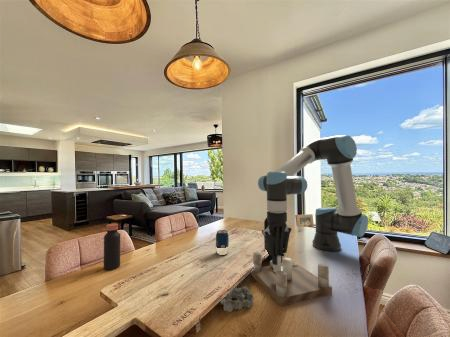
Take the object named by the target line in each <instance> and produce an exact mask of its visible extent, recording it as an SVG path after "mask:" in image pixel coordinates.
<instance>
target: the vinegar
mask: <svg viewBox="0 0 450 337" xmlns="http://www.w3.org/2000/svg"><path fill="white" fill-rule="evenodd" d="M105 226H106V227H105V228H106V229H105V230H106V234H104V235H103V236H104V237H103V270H104V269H105V271H114V270H117V269H118V268H120V266H121V233H120V232H119V223H117V222H115V223H114V222H113V223H108V224H106V225H105ZM116 268H117V269H116ZM113 269H114V270H113Z"/></svg>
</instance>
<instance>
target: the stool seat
mask: <svg viewBox="0 0 450 337" xmlns="http://www.w3.org/2000/svg"><path fill="white" fill-rule="evenodd" d="M262 254H263V253H262V252H259V251H255V252H253V253H252V265H253V264H254V265H255V269H254V270H253V272H252V273H251V272H250V275H251V277H253V278H254V280H255V281H256V282H257V283H259V285H260V286H261V287H262V288H263V290H265V291H266V293H267V294H268V295H269V296H270V297H271V298H272V300H274V301H275V303H276V304H277V305H278V306H279V307H283V306H286V305H291V304H294V303H300V302H303V301H307V300H312V299H316V298H320V297H324V296H327V295H332V294H333V286H332V285H330V283H329V281H330V275H329V274H330V272H329V270H330V268H329V265H327V264H325V263H318V264H317V276H316V275H315V274H313V273H312V272H310V271H309V270H307V269H306V268H304V267H303V266H301V265H300V264H299V263H298V262H296V261H292V279H291V280H287V273H286V272H283V271H277V272H274V268H272V267H270V265H266V266H263V265H262V261H263V260H262V259H263V258H262V256H263V255H262ZM281 266H282V267H283V263H281Z"/></svg>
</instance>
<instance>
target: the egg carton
mask: <svg viewBox="0 0 450 337" xmlns="http://www.w3.org/2000/svg"><path fill="white" fill-rule="evenodd" d="M232 289H233V290H232V291H231V292H230V293H229V294H227V296H226V297H225V298H224V299H222V300H221V299H220V305H223V310H224V311H225V312H228V313H232V312H233V310H235V309H237V310H239V311H241V310H243V307H246V308H248V309H249V308H252V305H254V303H253V302H254V300H255V297H254V296H253V293H251V290H250V289H249V287H248V286H247V285H244V286H243V287H238V288H237V287H235V288H232ZM234 298H235V299H237V300H235V299H234ZM232 299H234V300H232Z"/></svg>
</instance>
